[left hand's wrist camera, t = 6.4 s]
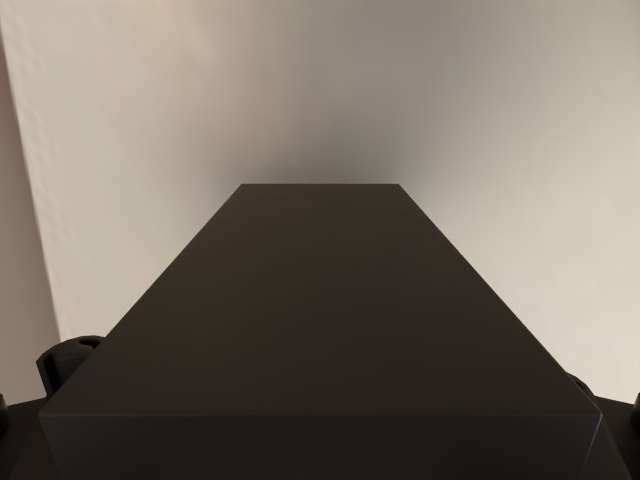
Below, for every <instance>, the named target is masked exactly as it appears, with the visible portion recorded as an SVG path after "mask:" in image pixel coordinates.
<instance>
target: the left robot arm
mask: <svg viewBox="0 0 640 480" xmlns="http://www.w3.org/2000/svg"><path fill="white" fill-rule="evenodd" d="M104 338H105V337H101V336H95V335H92V336H81V337H77V338H73V339H69V340H66V341H64V342H62V343H60V344H57V345H55V346H53V347H52V348H50V349H49V350H47V351H46V352H44V353H43V354H42V355H41V356H40V358H39V359H38V360H37V361H36V364H37V367H38V370H39V373H40V376H41V379H42V382H43V385H44V388H45V391H46V393H47V395H46V397H45V398H41V399H37V400H33V401H28V402H23V403H19V404H14V405H10V406H7V405H6V403H5V400H4V398H3V395H2V394H0V480H61V478H60V475H59V472H58V470H57V467H56V464H55V461H54V459H53V456H52V453H51V450H50V447H49V445H48V442H47V439H46V436H45V433H44V431H43V428H42V425H41V422H40V419H39V417H38V415H39V412H40V410H41V409H42V408H43V407H44V406H45V404H46V403H47V402H48V401H49V400H50V399H51V398H52V397H53V395H54V394H55V393H56V392H57V391H58V390H59V389H60V388H61V386H62V385H63V384H64V383H65V382H66V381H67V380H68V379H69V377H70V376H71V375H72V374H73V373H74V372H75V371H76V370H77V368H78V367H79V366H80V365H81V364H82V363H83V362H84V361H85V359H86V358H87V357H88V356H89V355H90V354H91V353H92V352H93V351H94V349H95V348H96V347H97V346H98V345H99V344H100V343H101V342H102V340H103V339H104ZM567 374H568V375H569V376H570V377H571V378H572V379H573V380H574V381H575V383H576V384H577V385H578V386H579V387H580V388H581V389H582V390H583V391H584V393H585V394H586V395H587V396H588V397H589V398H590V399H591V400H592V402H593V403H594V404H595V405H596V406H597V407H598V408H599V409H600V411H601V413H602V418H601V421H600V424H599V427H598V429H597V432H596V435H595V438H594V441H593V443H592V446H591V449H590V452H589V455H588V457H587V460H586V463H585V466H584V469H583V471H582V474H581V477H580V480H640V393H639V394H638V396H637V399H636V401H635V404H629V403H624V402H620V401H615V400H611V399H606V398H602V397H598V396H594V395H593V393H592V392H591V390H590V389H589V388H588V386H587V385H586V384H585V383H583V382H582V381H581V380H580V379H578V378H577V377H575V376H573V375H571V374H569V373H567Z"/></svg>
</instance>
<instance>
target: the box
mask: <svg viewBox="0 0 640 480" xmlns="http://www.w3.org/2000/svg"><path fill="white" fill-rule="evenodd" d="M38 417H39V419H40V422H41V425H42V428H43V431H44V433H45V436H46V439H47V442H48V445H49V447H50V450H51V453H52V456H53V459H54V461H55V464H56V467H57V470H58V472H59V475H60V478H61V480H580V477H581V474H582V471H583V469H584V466H585V463H586V460H587V457H588V455H589V452H590V449H591V446H592V443H593V441H594V438H595V435H596V432H597V429H598V427H599V424H600V421H601V418H602V413H601V411H600V409H599V408H598V407H597V406H596V405H595V404H594V403H593V402H592V400H591V399H590V398H589V397H588V396H587V395H586V394H585V393H584V391H583V390H582V389H581V388H580V387H579V386H578V385H577V384H576V383H575V381H574V380H573V379H572V378H571V377H570V376H569V375H568V374H567V372H566V371H565V370H564V369H563V368H562V367H561V366H560V365H559V363H558V362H557V361H556V360H555V359H554V358H553V357H552V356H551V354H550V353H549V352H548V351H547V350H546V349H545V348H544V347H543V346H542V344H541V343H540V342H539V341H538V340H537V339H536V338H535V337H534V335H533V334H532V333H531V332H530V331H529V330H528V329H527V328H526V326H525V325H524V324H523V323H522V322H521V321H520V320H519V319H518V317H517V316H516V315H515V314H514V313H513V312H512V311H511V310H510V308H509V307H508V306H507V305H506V304H505V303H504V302H503V301H502V300H501V298H500V297H499V296H498V295H497V294H496V293H495V292H494V291H493V289H492V288H491V287H490V286H489V285H488V284H487V283H486V282H485V280H484V279H483V278H482V277H481V276H480V275H479V274H478V273H477V271H476V270H475V269H474V268H473V267H472V266H471V265H470V264H469V262H468V261H467V260H466V259H465V258H464V257H463V256H462V255H461V254H460V252H459V251H458V250H457V249H456V248H455V247H454V246H453V245H452V243H451V242H450V241H449V240H448V239H447V238H446V237H445V236H444V234H443V233H442V232H441V231H440V230H439V229H438V228H437V227H436V225H435V224H434V223H433V222H432V221H431V220H430V219H429V218H428V216H427V215H426V214H425V213H424V212H423V211H422V210H421V209H420V208H419V206H418V205H417V204H416V203H415V202H414V201H413V200H412V199H411V197H410V196H409V195H408V194H407V193H406V192H405V191H404V190H403V188H402V187H401V186H400V185H399V184H241V185H240V186H239V188H238V189H237V190H236V191H235V192H234V193H233V194H232V195H231V197H230V198H229V199H228V200H227V201H226V202H225V203H224V204H223V206H222V207H221V208H220V209H219V210H218V211H217V212H216V213H215V215H214V216H213V217H212V218H211V219H210V220H209V221H208V222H207V224H206V225H205V226H204V227H203V228H202V229H201V230H200V231H199V233H198V234H197V235H196V236H195V237H194V238H193V239H192V240H191V241H190V243H189V244H188V245H187V246H186V247H185V248H184V249H183V250H182V252H181V253H180V254H179V255H178V256H177V257H176V258H175V259H174V261H173V262H172V263H171V264H170V265H169V266H168V267H167V268H166V270H165V271H164V272H163V273H162V274H161V275H160V276H159V277H158V279H157V280H156V281H155V282H154V283H153V284H152V285H151V286H150V288H149V289H148V290H147V291H146V292H145V293H144V294H143V295H142V297H141V298H140V299H139V300H138V301H137V302H136V303H135V304H134V306H133V307H132V308H131V309H130V310H129V311H128V312H127V313H126V315H125V316H124V317H123V318H122V319H121V320H120V321H119V322H118V324H117V325H116V326H115V327H114V328H113V329H112V330H111V331H110V333H109V334H108V335H107V336H106V337H105V338H104V339H103V340H102V342H101V343H100V344H99V345H98V346H97V347H96V348H95V349H94V351H93V352H92V353H91V354H90V355H89V356H88V357H87V358H86V359H85V361H84V362H83V363H82V364H81V365H80V366H79V367H78V368H77V370H76V371H75V372H74V373H73V374H72V375H71V376H70V377H69V379H68V380H67V381H66V382H65V383H64V384H63V385H62V386H61V388H60V389H59V390H58V391H57V392H56V393H55V394H54V395H53V397H52V398H51V399H50V400H49V401H48V402H47V403H46V404H45V406H44V407H43V408H42V409H41V410H40V412H39V415H38Z"/></svg>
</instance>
